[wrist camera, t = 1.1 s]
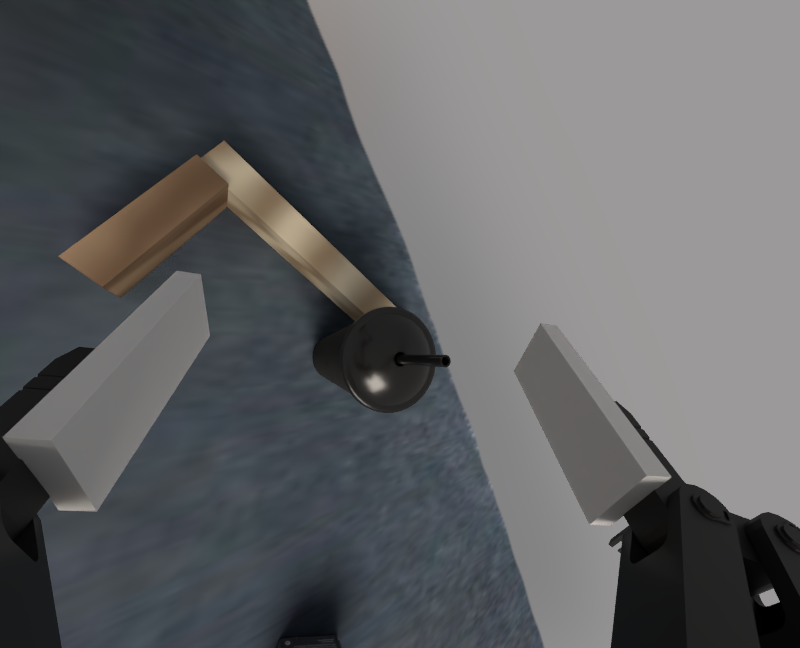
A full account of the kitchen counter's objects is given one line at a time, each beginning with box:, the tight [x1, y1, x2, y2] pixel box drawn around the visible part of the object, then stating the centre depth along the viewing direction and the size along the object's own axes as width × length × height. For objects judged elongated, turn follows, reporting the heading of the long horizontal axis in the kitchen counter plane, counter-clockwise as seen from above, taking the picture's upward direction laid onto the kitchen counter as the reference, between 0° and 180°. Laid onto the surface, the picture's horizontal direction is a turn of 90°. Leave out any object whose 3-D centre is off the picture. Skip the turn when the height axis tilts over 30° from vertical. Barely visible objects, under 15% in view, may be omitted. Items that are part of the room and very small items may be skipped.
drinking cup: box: [313, 307, 450, 413], centre depth 27 cm, size 8×8×20 cm
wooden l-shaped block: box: [59, 141, 396, 321], centre depth 31 cm, size 25×15×5 cm, turn 51°
